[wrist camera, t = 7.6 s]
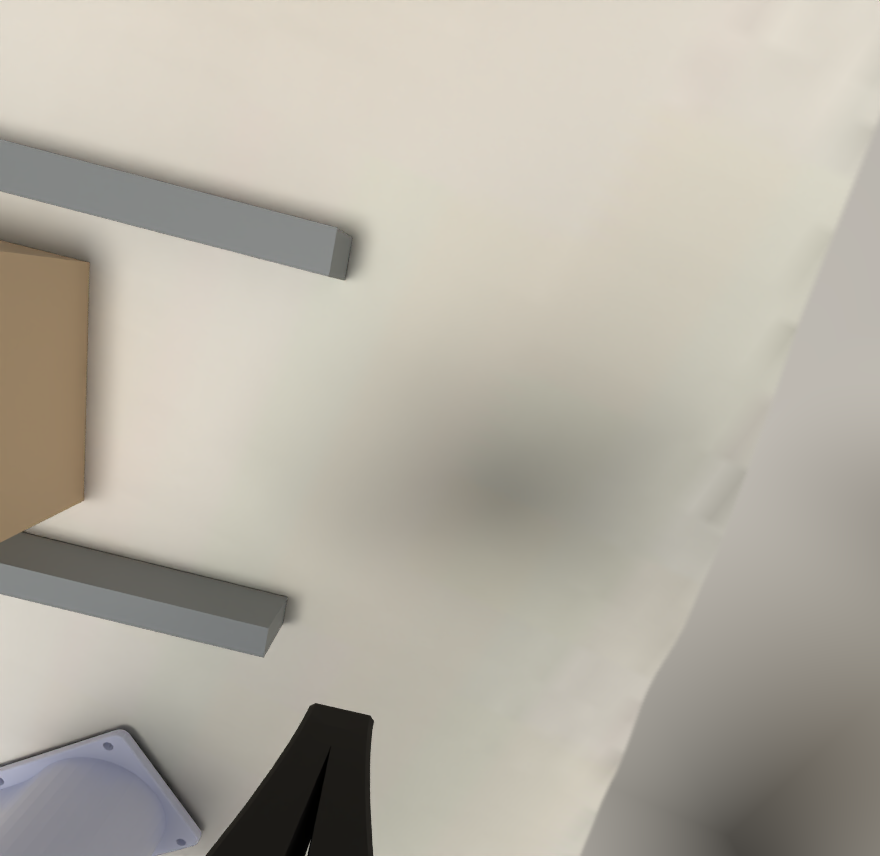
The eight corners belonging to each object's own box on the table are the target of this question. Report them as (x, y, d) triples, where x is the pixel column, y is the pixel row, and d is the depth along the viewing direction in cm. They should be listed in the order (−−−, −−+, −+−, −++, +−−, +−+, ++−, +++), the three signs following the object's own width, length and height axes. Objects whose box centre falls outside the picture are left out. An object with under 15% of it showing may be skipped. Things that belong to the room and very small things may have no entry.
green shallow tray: (352, 237, 16) (317, 214, 12) (282, 624, 20) (240, 698, 16) (-219, 87, 15) (-449, 13, 11) (-161, 516, 20) (-311, 566, 16)
